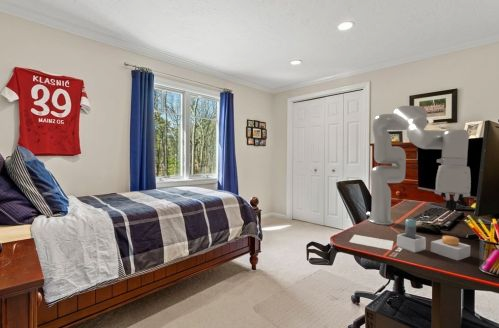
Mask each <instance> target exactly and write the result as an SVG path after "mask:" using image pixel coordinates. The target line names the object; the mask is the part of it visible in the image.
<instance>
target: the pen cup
mask: <svg viewBox="0 0 499 328" xmlns="http://www.w3.org/2000/svg"><path fill="white" fill-rule="evenodd" d="M426 241H427V237H424V236H421V235H418V234H416V237H415V240H414V239H411V238H407V237H405V232H404V233H401V234H397V235H396V247H397V248H398V249H399V248H400V249H403V250H405V251H408V252H411V253H415V254H416V253H418V252H422V251H425V250H427V249H426V245H427V244H426V243H427V242H426Z"/></svg>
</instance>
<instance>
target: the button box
mask: <svg viewBox="0 0 499 328" xmlns="http://www.w3.org/2000/svg"><path fill="white" fill-rule="evenodd" d="M471 246H472V245H469V244H467V243H462V242H459V245H449V244H446V243H443V242H442V238H440V239H437V240H431V241H430V253H431V252H432V253H434V254H437V255H439V256H443V257H445V258H448V259H451V260H455V261H460V260H463V259H466V258H468V257H471Z"/></svg>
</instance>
